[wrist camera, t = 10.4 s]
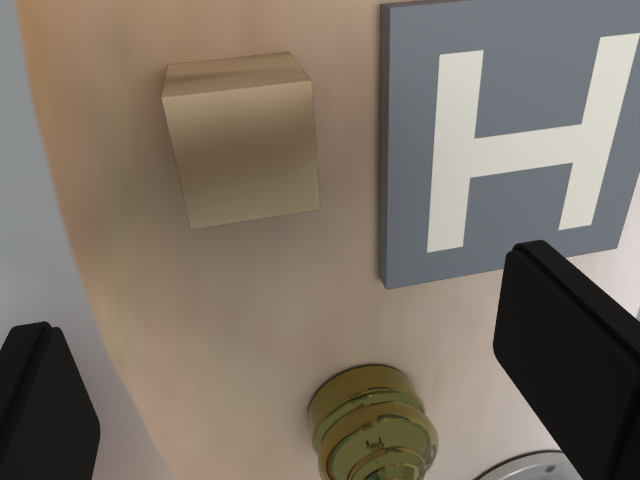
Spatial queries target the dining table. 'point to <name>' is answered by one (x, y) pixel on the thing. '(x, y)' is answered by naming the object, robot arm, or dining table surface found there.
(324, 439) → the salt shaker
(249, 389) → the dining table surface
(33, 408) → the robot arm
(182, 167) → the oak block
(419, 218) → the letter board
